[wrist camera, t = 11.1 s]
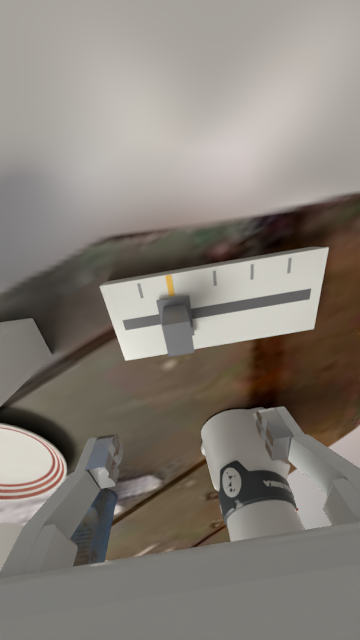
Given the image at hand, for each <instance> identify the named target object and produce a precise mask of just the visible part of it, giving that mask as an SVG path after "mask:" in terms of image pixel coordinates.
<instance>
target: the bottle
mask: <svg viewBox="0 0 360 640" xmlns="http://www.w3.org/2000/svg"><path fill="white" fill-rule="evenodd" d="M116 499H117V497H116V495H115V494H114V493H113V492H112V491H109V490H106V489H100V492H99V493H98V495H97V496H96V498H95V500H94V501H93V503H92V504H91V506H90V508H89V509H88V511H87V512H86V514H85V516H84V517H83V519H82V520H81V522H80V524H79V525H78V527H77V528H76V530H75V531H74V533H73V535H72V536H71V538H70V539H71V540H72V541H73V542H74V543H75V544H76V545H77V547H78V550H77V554H76V557H75V561H74V564H73V567H74V566H80V565H86V564H93V563H99V562H104V561H105V556H106V551H107V546H108V540H109V535H110V530H111V525H112V520H113V515H114V509H115V505H116Z"/></svg>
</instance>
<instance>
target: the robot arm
mask: <svg viewBox="0 0 360 640" xmlns="http://www.w3.org/2000/svg"><path fill="white" fill-rule="evenodd" d="M118 438H119V437H118V436H117V434H114V435H107V436H101V437H94V438H89V440H88V441H87V443H86V445H85V448H84V450H83V452H82V455H81V457H80V460H79V462H78V465H77V467H76V469H75V472H74V473H71V474H70V475H69V476H68V478H67V479H66V480H65V481H64V482H63V483H62V484H61V485H60V487H59V488H58V489H57V490H56V491H55V492H54V493H53V494H52V496H51V497H50V498H49V499H48V500H47V501H46V502H45V503H44V505H43V506H42V507H41V508H40V509H39V510H38V511H37V512H36V514H35V515H34V516H33V517H32V518H31V519H30V520H29V521H28V523H27V524H26V525H25V526H24V527H23V528H22V530H21V533H20V534H19V536H18V538H17V540H16V542H15V544H14V546H13V548H12V550H11V552H10V554H9V556H8V558H7V560H6V562H5V563H4V565H3V567H2V570H1V571H0V640H360V468H358V467H357V466H355V465H353V464H352V463H351V462H349V461H348V460H346V459H344V458H343V457H341V456H340V455H338V454H337V453H335V452H334V451H332V450H331V449H329V448H328V447H326V446H325V445H323V444H321V443H320V442H318V441H317V440H315V439H314V438H312V437H311V436H309V435H305V434H304V433H303V432H302V430H301V429H300V427H299V426H298V425H297V423H296V422H295V420H294V419H293V418H292V416H291V415H290V413H289V412H288V411H287V409H286V408H285V407H283V406H282V407H276V408H269V409H265V408H263V407H258V408H254V409H248V410H245V409H234V410H228V411H224V412H222V413H219V414H217V415H215V416H214V417H212V418H211V419H209V420H208V421H207V422H206V423H205V425H204V426H203V428H202V431H201V438H202V441H203V443H202V446H201V451H202V454H203V455H206V459H207V463H208V467H209V471H210V474H211V478H212V482H213V485H214V488H215V489H216V490H217V491H219V493H218V496H219V501H220V509H221V513H222V515H223V519H224V523H225V524H226V525H227V526H228V530H229V535H230V540H231V542H226V543H219V544H213V545H207V546H200V547H194V548H188V549H181V550H175V551H169V552H162V553H156V554H150V555H143V556H137V557H131V558H124V559H118V560H112V561H105V562H99V563H93V564H86V565H80V566H74V567H73V564H74V561H75V557H76V554H77V550H78V547H77V545H76V544H75V543H74V542H73V541H72V540H71V539H70V538H71V536H72V535H73V533H74V531H75V530H76V528H77V527H78V525H79V524H80V522H81V520H82V519H83V517H84V516H85V514H86V512H87V511H88V509H89V508H90V506H91V504H92V503H93V501H94V500H95V498H96V496H97V495H98V493H99V492H100V489H103V488H108V487H113V486H116V484H117V479H118V475H119V469H118V465H119V464H120V463H121V461H122V456H123V447H122V444H121V442H119V441H118ZM288 460H289V461H290V462H291V463H292V464H293V465H294V466H295V467H296V468H297V469H299V470H300V471H301V472H302V473H303V474H304V475H305V476H306V477H307V478H308V479H310V480H311V481H312V482H313V483H314V484H315V485H316V486H317V487H318V488H320V490H321V491H323V492H324V493H325V494H326V495H327V499H326V502H325V504H324V508H323V510H324V512H325V514H326V515H327V517H328V519H329V521H330V522H331V524H332V526H327V527H321V528H314V529H308V530H305V528H304V526H303V524H302V522H301V520H300V518H299V516H298V514H297V510H298V508H296V504H295V501H294V496H293V494H292V491H291V489H290V487H289V484H288V482H287V476H288V472H289V469H290V464H289V461H288Z"/></svg>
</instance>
